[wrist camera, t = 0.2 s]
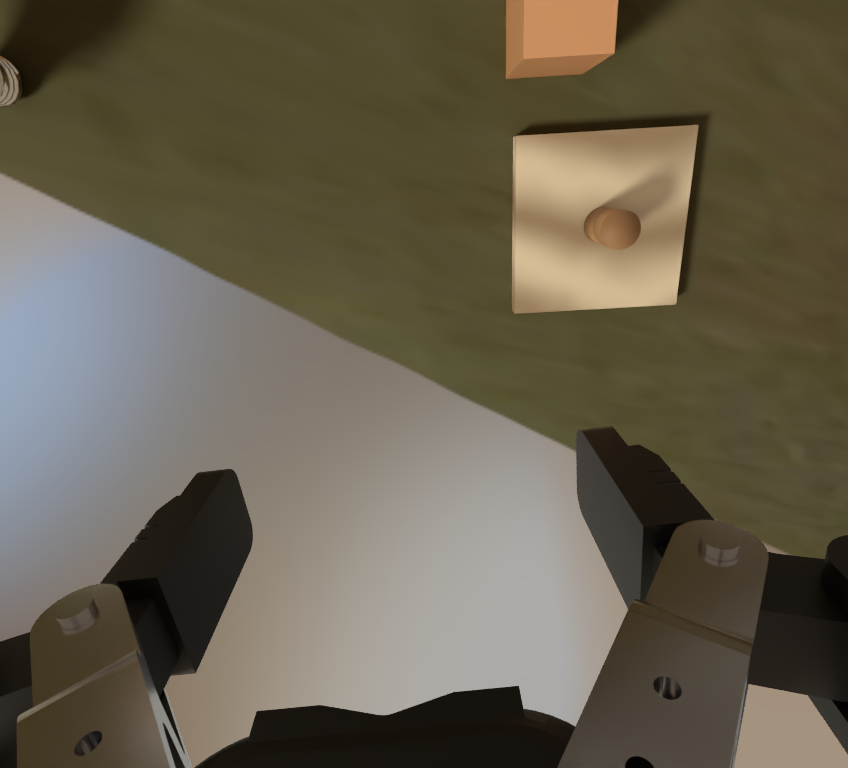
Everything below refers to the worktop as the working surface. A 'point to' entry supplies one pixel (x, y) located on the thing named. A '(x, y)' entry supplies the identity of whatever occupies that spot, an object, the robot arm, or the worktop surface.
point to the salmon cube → (558, 36)
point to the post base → (585, 186)
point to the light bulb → (9, 83)
